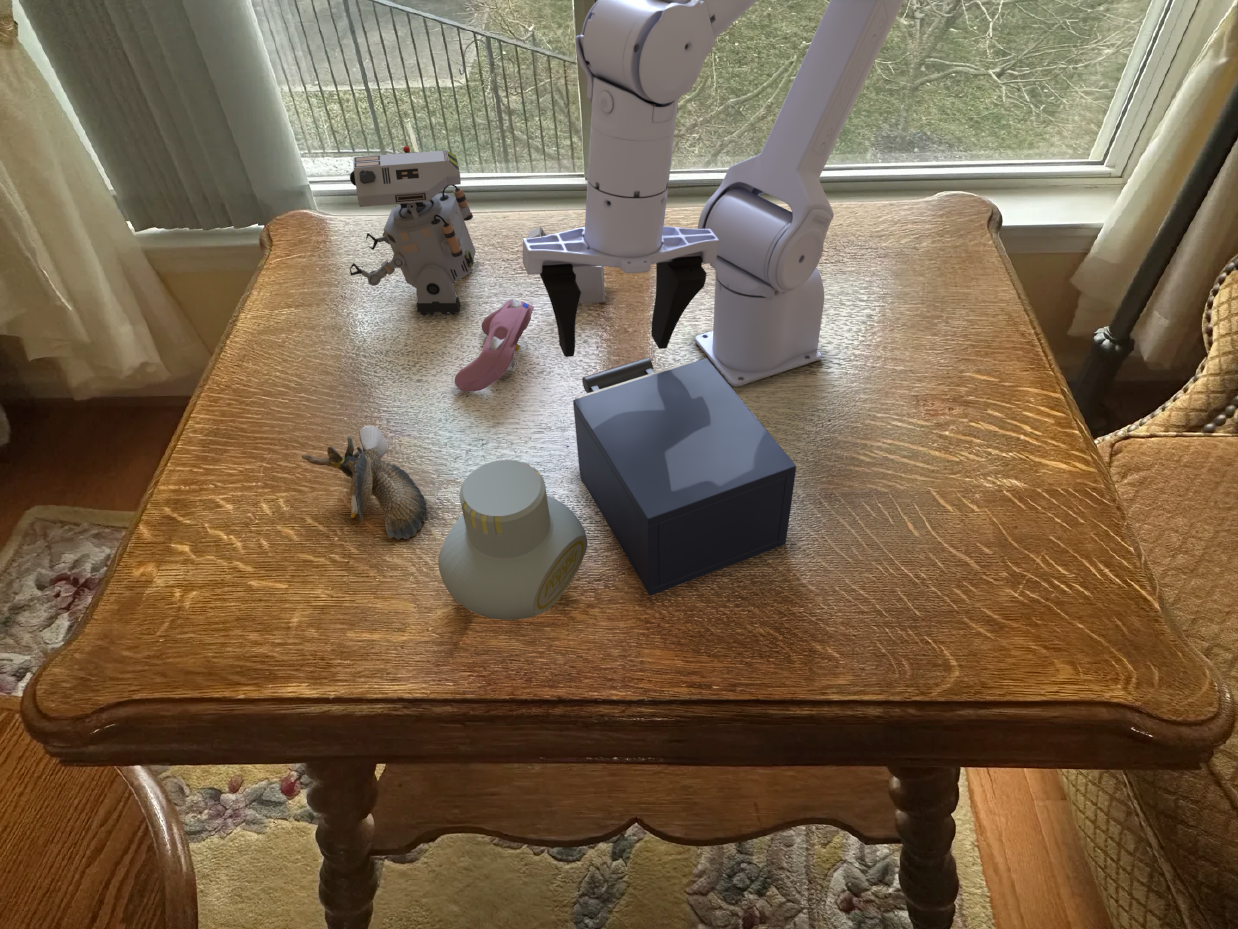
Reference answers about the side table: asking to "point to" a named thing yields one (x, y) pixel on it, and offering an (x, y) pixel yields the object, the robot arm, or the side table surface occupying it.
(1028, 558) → the side table surface
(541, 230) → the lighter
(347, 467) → the eagle figurine
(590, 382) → the drawer
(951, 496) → the side table surface
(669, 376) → the cabinet
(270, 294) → the side table surface
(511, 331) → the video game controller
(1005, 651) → the side table surface
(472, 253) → the figurine
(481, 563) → the air freshener
